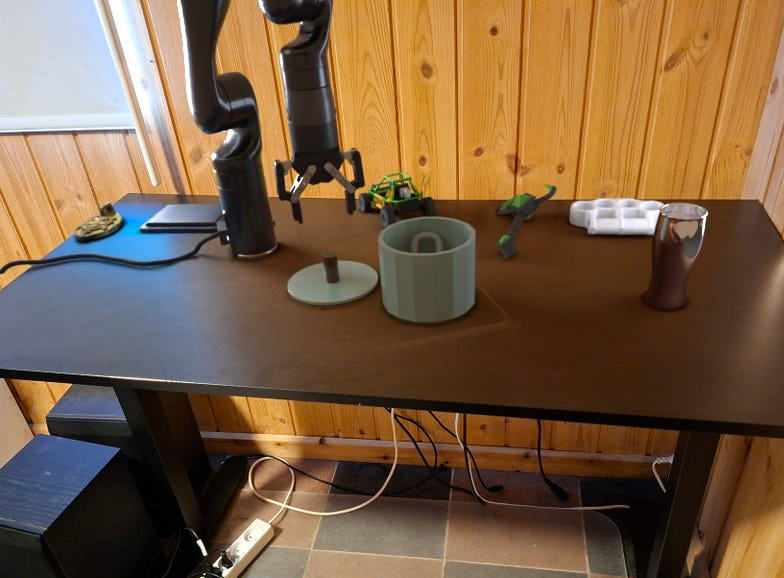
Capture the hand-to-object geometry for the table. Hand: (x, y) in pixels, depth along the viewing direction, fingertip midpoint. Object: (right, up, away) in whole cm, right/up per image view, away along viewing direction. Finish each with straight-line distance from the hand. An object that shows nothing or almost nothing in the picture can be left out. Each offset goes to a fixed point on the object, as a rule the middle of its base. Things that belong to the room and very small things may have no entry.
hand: (325, 217), depth 106 cm
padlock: (+17, -13, 0) cm, 21 cm away
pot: (+17, -14, 0) cm, 22 cm away
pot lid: (+1, -10, +7) cm, 12 cm away
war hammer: (+37, +2, +23) cm, 43 cm away
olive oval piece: (-55, +6, +39) cm, 68 cm away
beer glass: (+55, -15, -5) cm, 57 cm away
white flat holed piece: (+57, +3, +21) cm, 61 cm away
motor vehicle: (+13, +8, +34) cm, 37 cm away
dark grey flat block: (-34, +8, +40) cm, 54 cm away
